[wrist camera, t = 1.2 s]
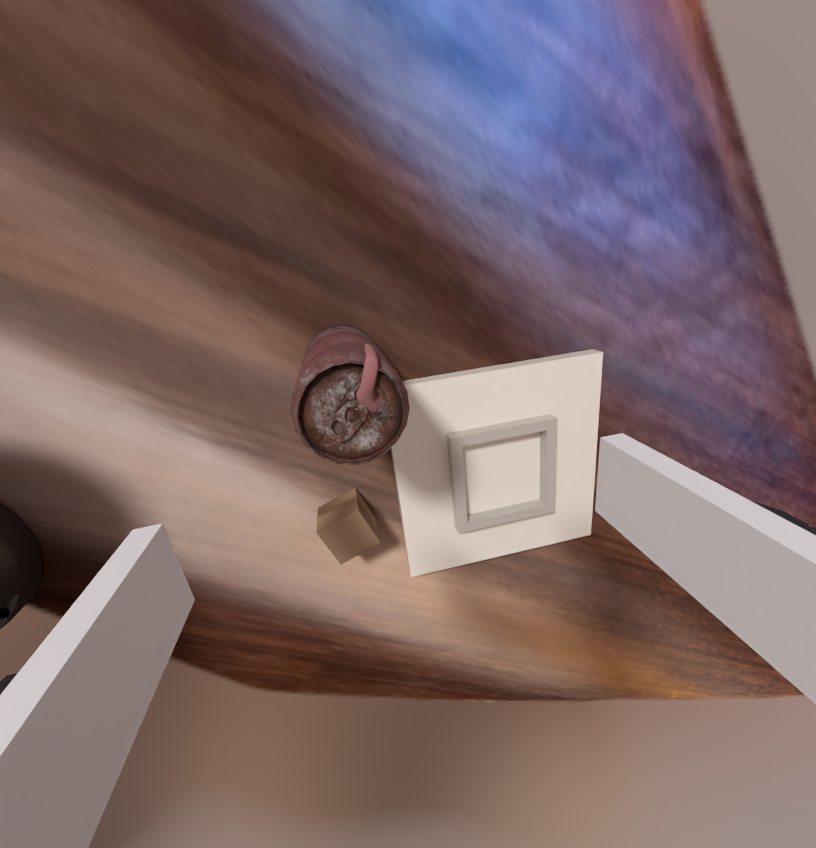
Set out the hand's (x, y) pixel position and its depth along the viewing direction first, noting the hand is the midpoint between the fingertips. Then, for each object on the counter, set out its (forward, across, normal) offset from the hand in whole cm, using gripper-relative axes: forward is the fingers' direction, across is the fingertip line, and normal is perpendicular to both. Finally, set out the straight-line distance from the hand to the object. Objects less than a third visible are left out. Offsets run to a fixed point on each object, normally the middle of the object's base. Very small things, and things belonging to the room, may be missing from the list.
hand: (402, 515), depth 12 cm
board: (+22, +12, -12) cm, 28 cm away
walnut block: (+22, -3, -14) cm, 27 cm away
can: (+23, -1, +1) cm, 23 cm away
